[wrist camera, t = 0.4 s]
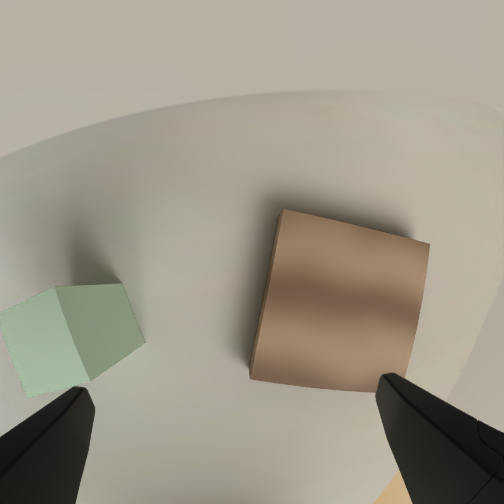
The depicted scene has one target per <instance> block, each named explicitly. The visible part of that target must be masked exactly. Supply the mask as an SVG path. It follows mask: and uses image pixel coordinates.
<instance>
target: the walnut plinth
mask: <svg viewBox="0 0 504 504" xmlns="http://www.w3.org/2000/svg"><path fill="white" fill-rule="evenodd" d="M429 248H430V244H428V243H424V242H421V241H417V240H413V239H409V238H405V237H402V236H398V235H394V234H390V233H386V232H382V231H378V230H374V229H370V228H366V227H362V226H357V225H353V224H349V223H345V222H341V221H336V220H332V219H328V218H323V217H319V216H314V215H310V214H305V213H301V212H296V211H291V210H287V209H283V210H282V212H281V214H280V215H279V219H278V224H277V230H276V235H275V240H274V246H273V251H272V256H271V261H270V267H269V272H268V277H267V282H266V287H265V292H264V297H263V302H262V307H261V312H260V317H259V322H258V327H257V332H256V337H255V342H254V347H253V352H252V356H251V361H250V366H249V375H250V379H253V380H259V381H265V382H272V383H279V384H286V385H294V386H302V387H311V388H320V389H331V390H342V391H356V392H374V393H376V390H377V386H378V382H379V379H380V376H381V375H382V374H386V373H391V372H394V373H396V374H398V375H400V376H401V377H403V378H405V374H406V371H407V367H408V363H409V359H410V355H411V351H412V347H413V343H414V338H415V334H416V329H417V324H418V319H419V314H420V309H421V304H422V298H423V292H424V286H425V279H426V272H427V265H428V257H429Z"/></svg>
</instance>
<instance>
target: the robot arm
mask: <svg viewBox="0 0 504 504" xmlns="http://www.w3.org/2000/svg"><path fill="white" fill-rule="evenodd" d="M375 397H376V402H377V406H378V409H379V413H380V416H381V420H382V423H383V427H384V430H385V434H386V437H387V440H388V443H389V445H390V448H391V450H392V453H393V455H394V458H395V460H396V463H397V465H398V467H399V470H400V472H401V475H402V478H403V480H404V483H405V485H406V488H407V490H408V493H409V495H410V498H411V501H412V503H413V504H504V433H503V432H501V431H499V430H496V429H495V428H493V427H491V426H489V425H487V424H485V423H483V422H481V421H479V420H477V419H475V418H474V417H472V416H470V415H468V414H466V413H465V412H463V411H461V410H459V409H457V408H456V407H454V406H452V405H450V404H448V403H447V402H445V401H443V400H441V399H440V398H438V397H436V396H434V395H433V394H431V393H429V392H427V391H426V390H424V389H422V388H420V387H419V386H417V385H415V384H413V383H412V382H410V381H408V380H406V379H405V378H403V377H401V376H400V375H398V374H396V373H394V372H391V373H386V374H382V375H381V376H380V379H379V382H378V386H377V390H376V395H375ZM94 416H95V406H94V404H93V401H92V399H91V397H90V395H89V392H88V390H87V389H86V388H84V387H78V386H74V387H72V388H71V389H69V390H68V391H66V392H65V393H63V394H62V395H61V396H59V397H58V398H56V399H55V400H53V401H52V402H50V403H49V404H48V405H46V406H45V407H43V408H42V409H40V410H39V411H37V412H36V413H34V414H33V415H32V416H30V417H29V418H27V419H26V420H24V421H23V422H21V423H20V424H18V425H17V426H16V427H14V428H13V429H11V430H10V431H8V432H7V433H5V434H4V435H2V436H1V437H0V504H75V503H76V499H77V494H78V490H79V486H80V482H81V478H82V474H83V470H84V466H85V462H86V459H87V455H88V451H89V445H90V439H91V433H92V427H93V421H94Z"/></svg>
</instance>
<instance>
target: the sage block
mask: <svg viewBox="0 0 504 504" xmlns="http://www.w3.org/2000/svg"><path fill="white" fill-rule="evenodd" d="M0 327H1V331H2V334H3V337H4V340H5V343H6V345H7V348H8V351H9V354H10V356H11V359H12V362H13V364H14V367H15V369H16V372H17V374H18V377H19V379H20V381H21V384H22V386H23V388H24V390H25V393H26V395H27V397H28V398H30V397H34V396H38V395H42V394H46V393H50V392H53V391H57V390H61V389H65V388H68V387H72V386H76V385H79V384H83V383H86V382H90V381H92V380H93V379H94V378H96V377H97V376H99V375H100V374H102V373H103V372H104V371H106V370H107V369H109V368H110V367H112V366H113V365H115V364H116V363H117V362H119V361H120V360H122V359H123V358H124V357H126V356H127V355H129V354H130V353H132V352H133V351H134V350H136V349H137V348H139V347H140V346H142V345H143V344H144V343H145V340H144V338H143V336H142V333H141V331H140V328H139V326H138V323H137V321H136V318H135V316H134V313H133V311H132V308H131V306H130V303H129V300H128V298H127V295H126V292H125V289H124V287H123V284H122V283H118V284H99V285H79V286H58V287H53V288H50V289H48V290H46V291H44V292H42V293H40V294H38V295H36V296H34V297H32V298H30V299H28V300H26V301H23V302H21V303H19V304H17V305H15V306H13V307H11V308H9V309H7V310H5V311H3V312H1V313H0Z"/></svg>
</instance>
